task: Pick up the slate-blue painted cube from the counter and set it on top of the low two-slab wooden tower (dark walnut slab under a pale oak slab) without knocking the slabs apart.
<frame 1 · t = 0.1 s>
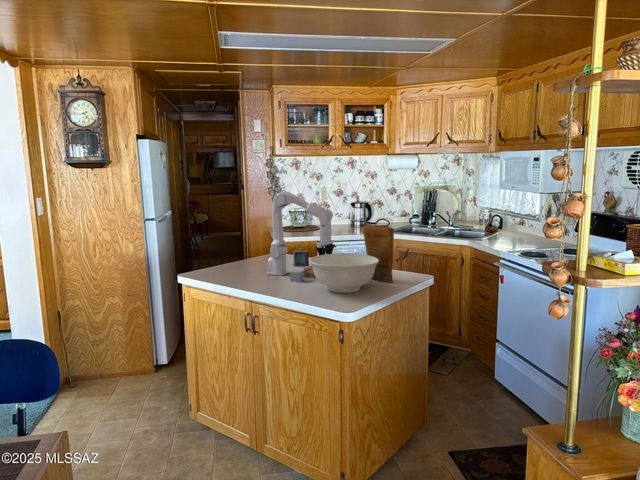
hand: (325, 259, 243), 10 cm above the countertop, tool pointing down, fingers open, 7 cm apart
walnut slab: (310, 276, 251), on the countertop, touching oak slab
pancake mix bag: (379, 280, 241), on the countertop
slate block: (297, 280, 241), on the countertop
bowl: (343, 289, 224), on the countertop
flask: (301, 266, 276), on the countertop
oak slab: (310, 272, 251), point 2 cm above the countertop, touching walnut slab
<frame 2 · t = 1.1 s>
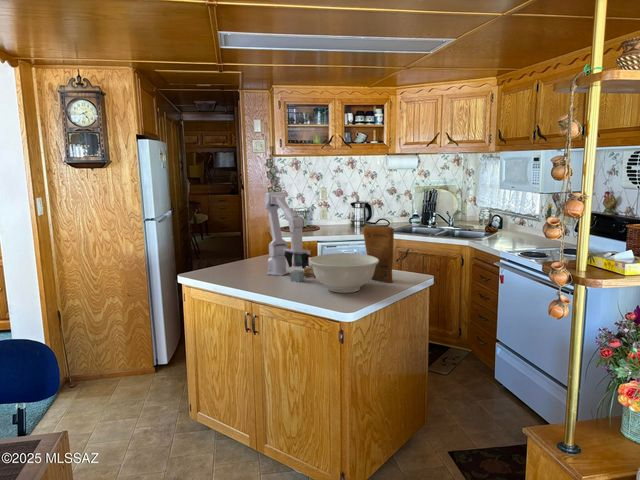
hand: (297, 267, 240), 7 cm above the countertop, tool pointing down, fingers open, 7 cm apart
nothing on the countertop moved.
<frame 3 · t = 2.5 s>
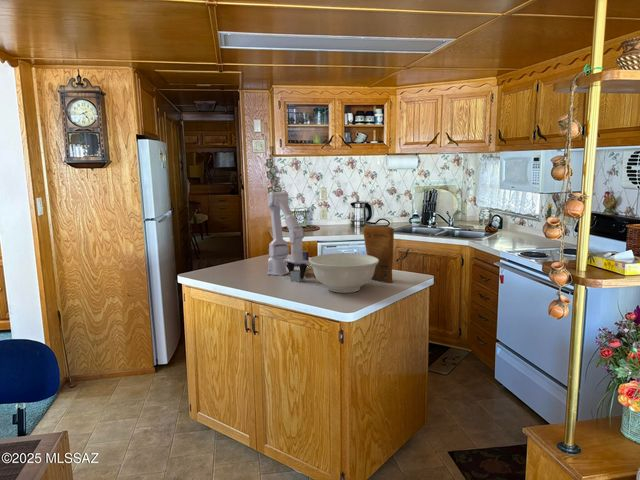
hand: (297, 277, 241), 1 cm above the countertop, tool pointing down, fingers closed on slate block, 5 cm apart
slate block: (297, 280, 241), on the countertop, touching gripper
everything else where it was.
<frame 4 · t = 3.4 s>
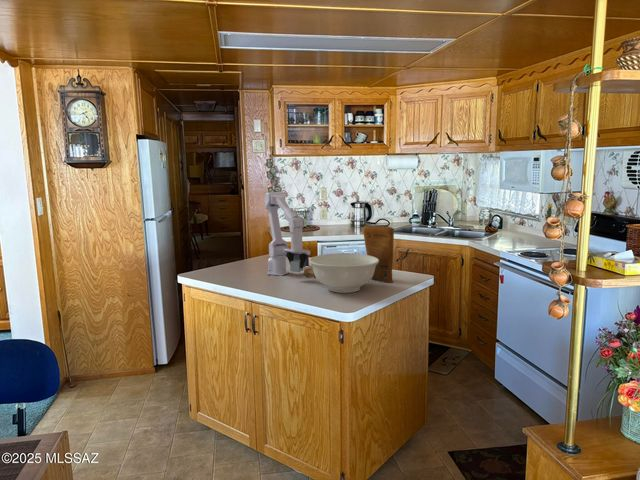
hand: (296, 267, 240), 7 cm above the countertop, tool pointing down, fingers closed on slate block, 5 cm apart
slate block: (296, 270, 240), point 5 cm above the countertop, touching gripper
everything else where it was.
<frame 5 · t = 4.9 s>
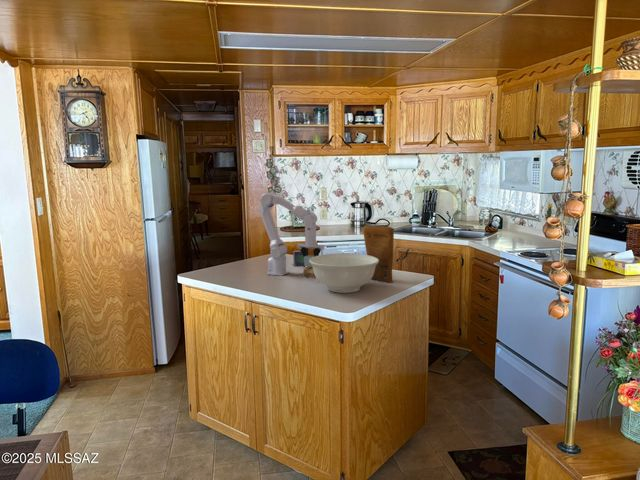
hand: (310, 262, 250), 8 cm above the countertop, tool pointing down, fingers closed on slate block, 5 cm apart
slate block: (310, 265, 250), point 6 cm above the countertop, touching gripper
everything else where it was.
when the fingers open (7 cm above the countertop, at t = 5.4 s): slate block drops 1 cm, resting on oak slab.
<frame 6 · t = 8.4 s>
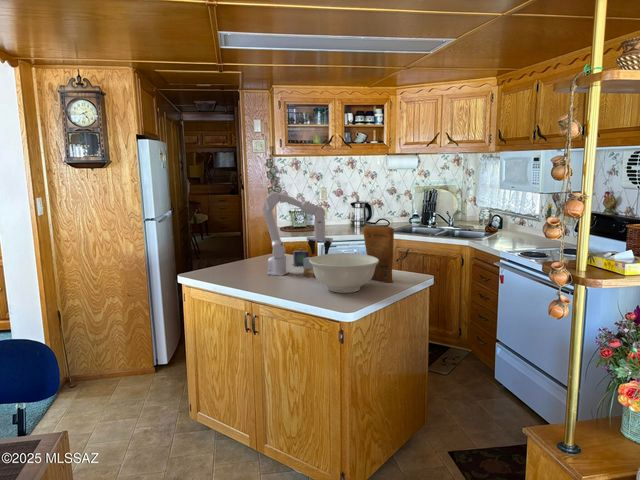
hand: (319, 254, 255), 10 cm above the countertop, tool pointing down, fingers open, 7 cm apart
slate block: (309, 267, 250), point 5 cm above the countertop, touching oak slab
oak slab: (310, 272, 251), point 2 cm above the countertop, touching slate block, walnut slab
everything else where it was.
at the end: slate block 0.5 cm off-centre on the oak slab, point 2.5 cm above the oak slab's base; oak slab moved 0.5 cm from its start; slate block tilted 0° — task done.
